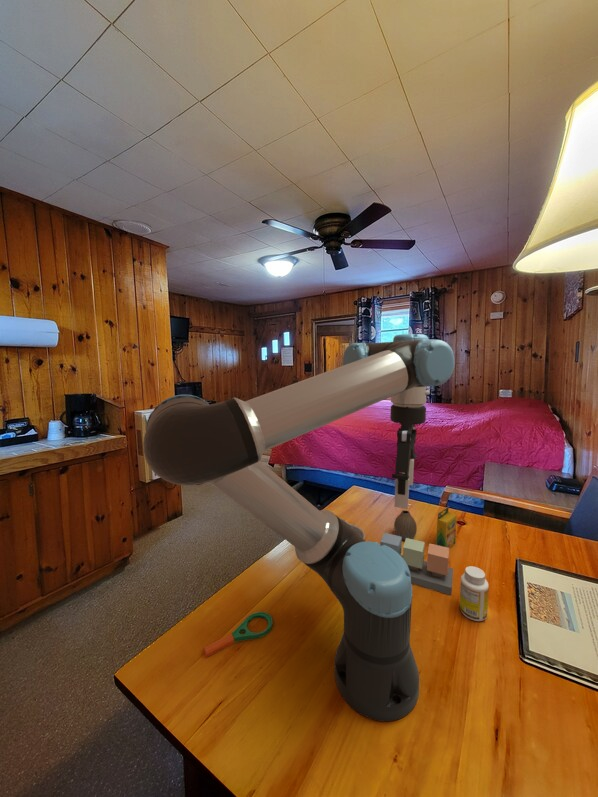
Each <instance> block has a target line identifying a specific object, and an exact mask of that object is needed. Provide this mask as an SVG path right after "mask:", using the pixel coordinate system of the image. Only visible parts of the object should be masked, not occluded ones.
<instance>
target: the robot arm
mask: <svg viewBox="0 0 598 797" xmlns="http://www.w3.org/2000/svg"><path fill="white" fill-rule="evenodd" d="M455 364H456V362H455V355H454V351H453V349H452V347H451V345H450V344H448V343H447V342H446V341H444V340H441V339H429V336H428V335H426V334H422V333H410V334H409V333H403V334H396V335H394V337H393V338H392V341H388V342H387V341H386V342H385V341H384V342H365V341H364V342H363V341H362V342H353V343H351V344H348V346H346V348H345V350H344V351H343V354H342V365H341V366H339V367H336V368H333V369H330V370H328V371H324V372H322V373H319V374H316V375H314V376H312V377H308V378H306V379H304V380H300V381H297V382H295V383H292V384H289V385H287V386H283V387H281V388H277V389H276V390H273V391H270V392H267V393H265V394H264V393H263V394H262V395H259V396H256V397H254V398H251V399H248V400H245V401H244V400H242V399H240V398H237V397H232V398H229V399H227V400H224V401H221V402H220V401H219V402H216V403H212V404H209V402H207V401H206V400H204V399H203V398H201V397H198V396H196V395H193V394H177V395H172V396H171V397H168V398H166V399H164V400H162V401H161V402H160V403H159V404H158V405H156V406H155V407H154V409H153V410H152V411H151V412H150V414H148V415H149V417H148V418H147V420H146V425H145V433H144V436H143V443H142V445H143V448H142V449H143V453H144V454H143V455H144V458H145V460H146V463H147V465H148V466H149V468H150V470H151V471H152V472H153V473H154V474H155V475H157V476H158V477H159V478H160V479H162V480H164V481H166V482H169V483H170V484H174V485H179V486H194V485H195V486H197V487H202V486H208V485H211V486H213V487H214V488H215V489H217V491H219V492H221V493H222V494H223V495H224V496H226V497H227V498H229V499H230V500H231V501H233V502H234V503H236V504H237V505H239V507H241V508H242V509H244V510H245V511H246V512H247V513H249V514H251V516H253V517H254V518H255V519H257V520H258V521H260V522H261V523H262V524H264V525H265V526H267V527H268V528H269V529H271V530H272V531H273V532H275V533H276V534H277V535H279V536H280V537H281V538H283V539H284V540H285V541H287V542H288V543H289V544H291V545H292V546H293V547H294V550H295V555H296V558H297V559H298V560H299V561H300V562H302V563H303V564H304V565H305V566H307V567H308V568H310V569H311V570H312V571H314V572H315V573H316V574H318V576H320V577H321V579H322V580H323V581H324V582H325V584H326V585H327V586H328V588H329V589H330V591H331V593H332V594H333V595H334V596H335V598H336V599H337V601H338V603H339V604H340V605H341V607H342V610H343V633H342V635H341V638H340V641H339V644H338V645H337V648H336V652H335V654H334V655H335V656H334V678H335V679H334V680H335V682H336V686H337V689H338V691H339V693H340V695H341V697H342V698H343V699H344V700H345V702H346V703H347V704H348V705H349V706H350V707H351V708H352V709H353V710H354V711H355V712H357V713H358V714H360V715H362V716H364V717H366V718H368V719H371V720H374V721H379V722H393V721H397V720H400V719H402V718H404V717H405V716H407V715H408V714H409V713H410V712H411V711H412V710H413V709H414V708H415V706H416V705H417V701H418V699H419V694H420V674H419V668H418V666H417V662H416V658H415V655H414V653H413V651H412V647H411V644H410V643H411V641H410V640H411V621H412V602H413V600H412V599H413V586H412V585H413V584H411V575H410V571H409V568H408V565H407V564H406V562H405V560H404V559H403V558H402V557H401V556H400V555H399V554H398V553H397V552H396V551H395V550H393V549H392V548H390V547H388V546H386V545H383V546H380V543H379V542H376V541H370V540H368V541H366V540H365V539H363V538H362V537H361V536H359V535H358V534H357V533H356V532H355V531H354V530H353V529H352V528H351V527H350V526H349V524H350V523H348V522H346V521H345V520H344V519H342V518H340V517H339V516H338V515H336V514H335V513H334V512H333V511H331V510H328V509H321V510H319V509H318V508H317V507H316V506H314V505H313V504H312V503H311V502H310V501H309V500H307V499H306V498H305V497H304V496H303V495H301V494H300V493H299V492H298V491H297V490H296V489H294V488H293V487H292V486H291V485H290V484H288V483H287V482H286V481H285V480H284V479H283V478H281V477H280V476H279V475H278V474H276V473H275V472H274V471H273V470H272V469H271V468H269V467H268V465H266V464H264V463H263V462H262V460H261V459H262V457H263V454H264V453H265V451H269V450H270V449H273V448H274V447H275V448H276V447H278V446H280V445H282V444H284V443H286V442H289V441H291V440H293V439H296V438H298V437H300V436H303V435H305V434H308V433H309V432H312V431H315V430H316V429H320V428H322V427H323V426H327V425H329V424H331V423H333V422H335V421H338V420H340V419H342V418H344V417H347V416H349V415H352V414H354V413H357V412H358V411H361V410H364V409H366V408H368V407H370V406H373V405H375V404H377V403H379V402H381V401H384V400H386V399H389V398H390V402H391V403H392V404H391V405H390V421H391V422H393V423H396V424H399V425H400V427H398V430H397V431H396V437H397V441H396V448H397V449H396V460H395V469H394V473H392V474H391V479H395V482H394V486H395V487H394V503H393V504H394V507H395V508H400V509H404V510H408V509H409V494H410V486H412V487H413V486H414V468H415V460H417V459H418V454H415V453H416V451H415V444H416V440H417V438H416V437H417V432H418V429H416V428H415V427H416V426H415V425H422V424H424V423H425V422H426V419H427V418H426V417H427V407H426V406H425V404H426V403H427V396H428V395H430V394H431V391H430V390H428V387H431V386H432V387H437V386H441V385H443V384H445V383H446V382H448V381H449V379H450V378H451V376H452V375H453V374H454V373H453V372H454V370H455V369H454V368H455Z"/></svg>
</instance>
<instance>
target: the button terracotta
mask: <svg viewBox="0 0 598 797" xmlns="http://www.w3.org/2000/svg"><path fill="white" fill-rule="evenodd" d="M426 556H427V557H426V558H427V560H426V562H427V570H428V571H432V572H435V573H439V574H443V575H446V576H448V567H449V562H450V549H449V548H447V547H443V546H439V545H436V544H434V543H429V544H428V550H427V555H426Z"/></svg>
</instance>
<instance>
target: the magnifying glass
mask: <svg viewBox="0 0 598 797" xmlns="http://www.w3.org/2000/svg"><path fill="white" fill-rule="evenodd" d="M259 618H260V619H264V620H265V621H266V622H267V624H268V625H267V627H266V628H265V629H264V630H262V631H260V632H252V631H250V630H249V628H248V625H249V623H250V622H251V621H252V620H254V619H259ZM273 625H274V624H273V618H272V616H271V615H270V614H269V613H267V612H265V611H257V612H254V613H253V612H252V613H251V614H250V615H248V616H247V617H246V618H245V619H244V620H242V622H241V623H240V624H239V625H238V627H236V628H235V630H234V631H233V632H231V633H230V634H228V635H226V636H224V637H221V638H220V639H218V640H216V641H214V642H211V643H210V644H208V645H205V646H204V647H203V653H204V655H205V658H208V657H210V656H212V655H215V653H218V652H219V651H220V652H221V651H222V650H224V649H225V648H227V647H229V646H231V645H233V644H235V643H236V642H237V643H238V642H241V641H248V640H254V639H255V640H256V639H261V638H263V637H264V636H266V635H268V633H270V632H271V630H272V628H273ZM242 633H243V634H242Z"/></svg>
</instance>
